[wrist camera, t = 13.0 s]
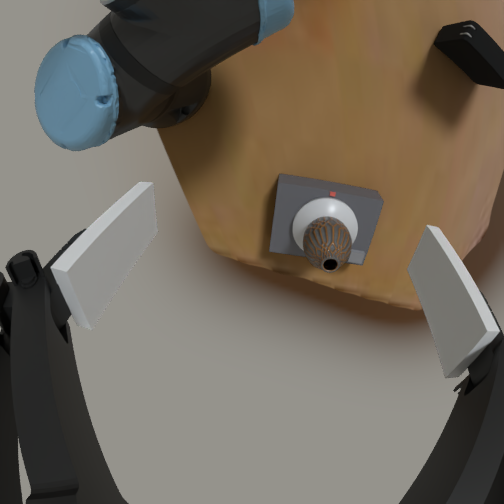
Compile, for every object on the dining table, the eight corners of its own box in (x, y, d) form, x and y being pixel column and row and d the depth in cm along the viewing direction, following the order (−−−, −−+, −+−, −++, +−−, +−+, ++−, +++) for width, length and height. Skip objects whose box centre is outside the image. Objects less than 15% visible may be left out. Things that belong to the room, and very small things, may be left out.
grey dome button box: (271, 238, 49) (268, 255, 45) (279, 173, 43) (277, 184, 38) (358, 252, 48) (363, 269, 44) (377, 190, 41) (385, 203, 37)
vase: (320, 200, 39) (325, 231, 32) (356, 225, 40) (368, 260, 33) (293, 234, 43) (292, 270, 35) (328, 256, 44) (333, 294, 37)
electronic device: (475, 84, 27) (511, 91, 19) (431, 43, 26) (464, 38, 17) (483, 67, 25) (520, 72, 16) (440, 26, 23) (473, 19, 15)
